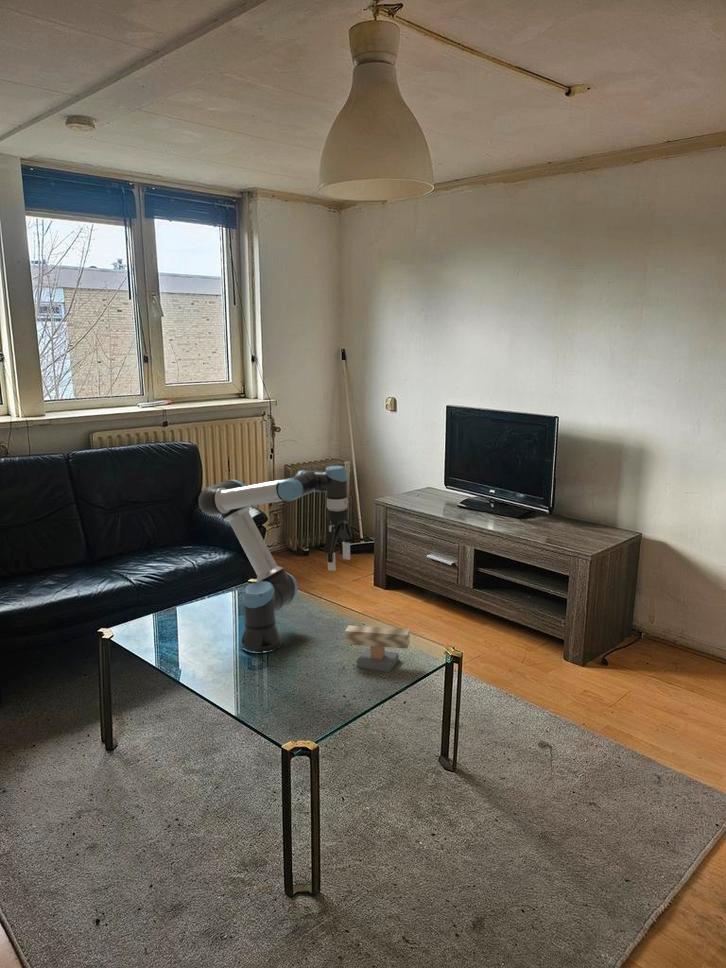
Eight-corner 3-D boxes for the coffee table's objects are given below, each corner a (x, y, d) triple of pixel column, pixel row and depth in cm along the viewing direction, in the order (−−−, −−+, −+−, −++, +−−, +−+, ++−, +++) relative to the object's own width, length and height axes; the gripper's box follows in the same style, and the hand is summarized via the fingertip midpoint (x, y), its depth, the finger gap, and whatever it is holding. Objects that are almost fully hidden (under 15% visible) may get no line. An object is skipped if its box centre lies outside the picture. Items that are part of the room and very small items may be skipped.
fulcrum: (356, 666, 239) (356, 646, 238) (367, 654, 248) (366, 635, 247) (389, 672, 235) (388, 651, 233) (398, 659, 244) (398, 639, 242)
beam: (409, 642, 240) (409, 629, 239) (407, 648, 235) (407, 635, 234) (348, 638, 245) (348, 625, 244) (345, 644, 240) (344, 631, 239)
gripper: (332, 517, 236) (334, 576, 241) (359, 501, 259) (361, 555, 263) (313, 516, 239) (315, 574, 243) (341, 500, 262) (343, 553, 266)
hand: (339, 564), depth 253 cm, fingers open, 13 cm apart
